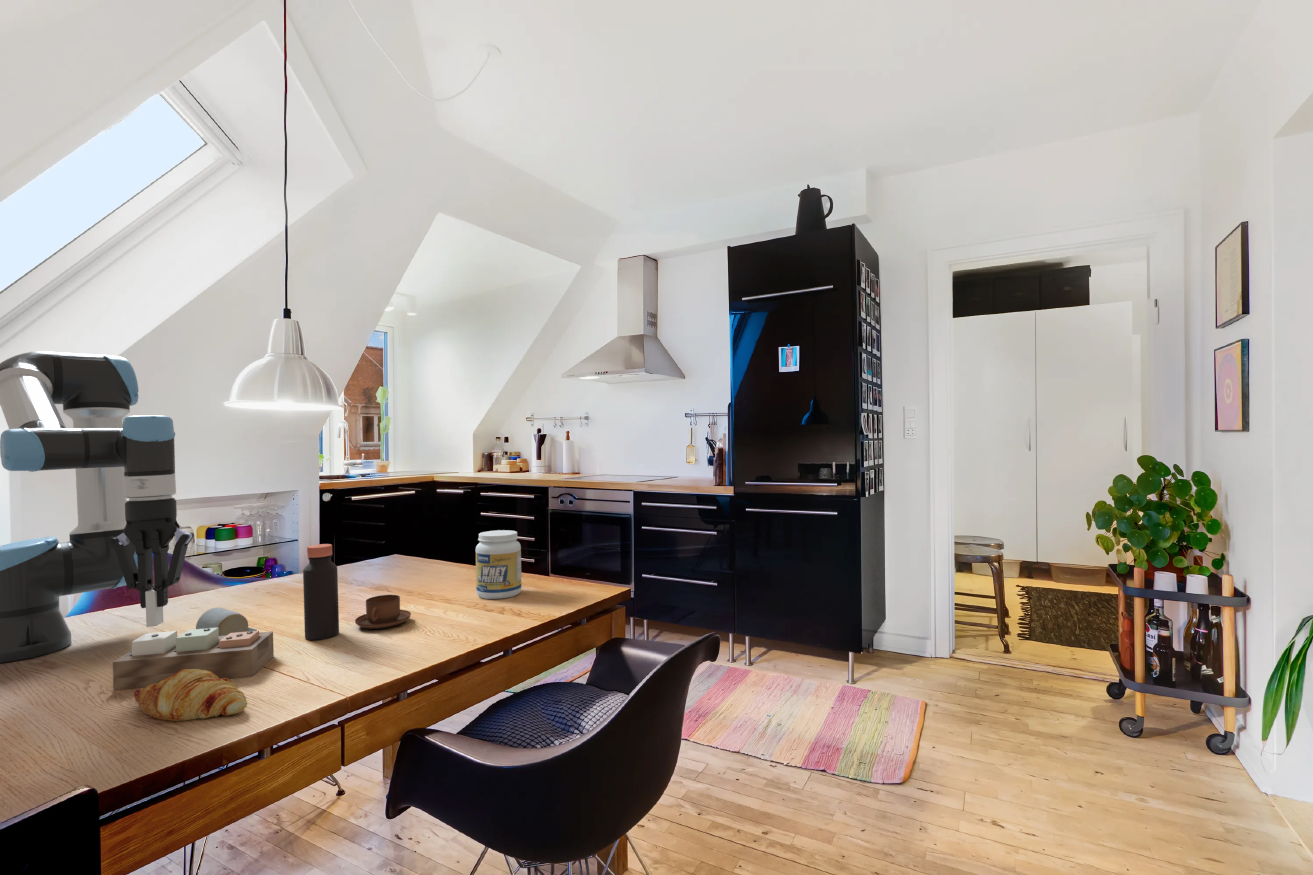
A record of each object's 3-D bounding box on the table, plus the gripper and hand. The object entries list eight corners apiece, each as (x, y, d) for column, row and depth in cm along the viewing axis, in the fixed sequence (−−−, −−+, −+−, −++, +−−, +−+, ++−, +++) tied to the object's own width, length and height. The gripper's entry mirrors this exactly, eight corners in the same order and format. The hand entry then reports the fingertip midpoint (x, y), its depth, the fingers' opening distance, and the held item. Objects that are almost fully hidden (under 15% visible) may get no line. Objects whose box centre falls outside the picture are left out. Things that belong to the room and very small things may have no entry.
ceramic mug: (217, 651, 132) (217, 615, 132) (194, 646, 135) (194, 611, 135) (265, 637, 141) (265, 603, 141) (243, 633, 144) (242, 600, 145)
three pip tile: (219, 659, 119) (219, 639, 119) (230, 650, 124) (230, 631, 123) (249, 656, 120) (248, 637, 120) (259, 648, 125) (258, 629, 125)
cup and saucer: (411, 628, 145) (410, 601, 145) (353, 635, 141) (352, 608, 140) (410, 614, 156) (410, 589, 156) (357, 621, 152) (356, 595, 152)
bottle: (346, 631, 143) (343, 543, 143) (322, 641, 136) (320, 549, 136) (321, 630, 145) (319, 542, 145) (297, 639, 138) (294, 548, 138)
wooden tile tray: (113, 689, 112) (112, 661, 112) (147, 667, 123) (146, 642, 123) (252, 676, 117) (251, 649, 117) (273, 655, 128) (273, 631, 128)
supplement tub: (472, 601, 167) (470, 537, 167) (480, 589, 179) (479, 530, 179) (519, 599, 168) (517, 535, 168) (524, 587, 180) (523, 528, 180)
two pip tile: (176, 656, 117) (175, 636, 117) (189, 647, 122) (188, 628, 122) (207, 653, 118) (206, 634, 118) (219, 645, 123) (218, 626, 123)
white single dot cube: (132, 660, 115) (131, 640, 115) (147, 651, 120) (146, 632, 120) (163, 657, 117) (163, 637, 117) (177, 648, 121) (177, 629, 121)
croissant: (260, 728, 103) (277, 677, 107) (212, 725, 95) (233, 669, 98) (152, 718, 107) (172, 668, 111) (96, 713, 99) (120, 660, 102)
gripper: (97, 501, 113) (101, 633, 113) (180, 498, 116) (185, 626, 116) (121, 498, 120) (126, 622, 120) (200, 494, 123) (204, 615, 123)
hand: (155, 624), depth 118 cm, fingers closed
